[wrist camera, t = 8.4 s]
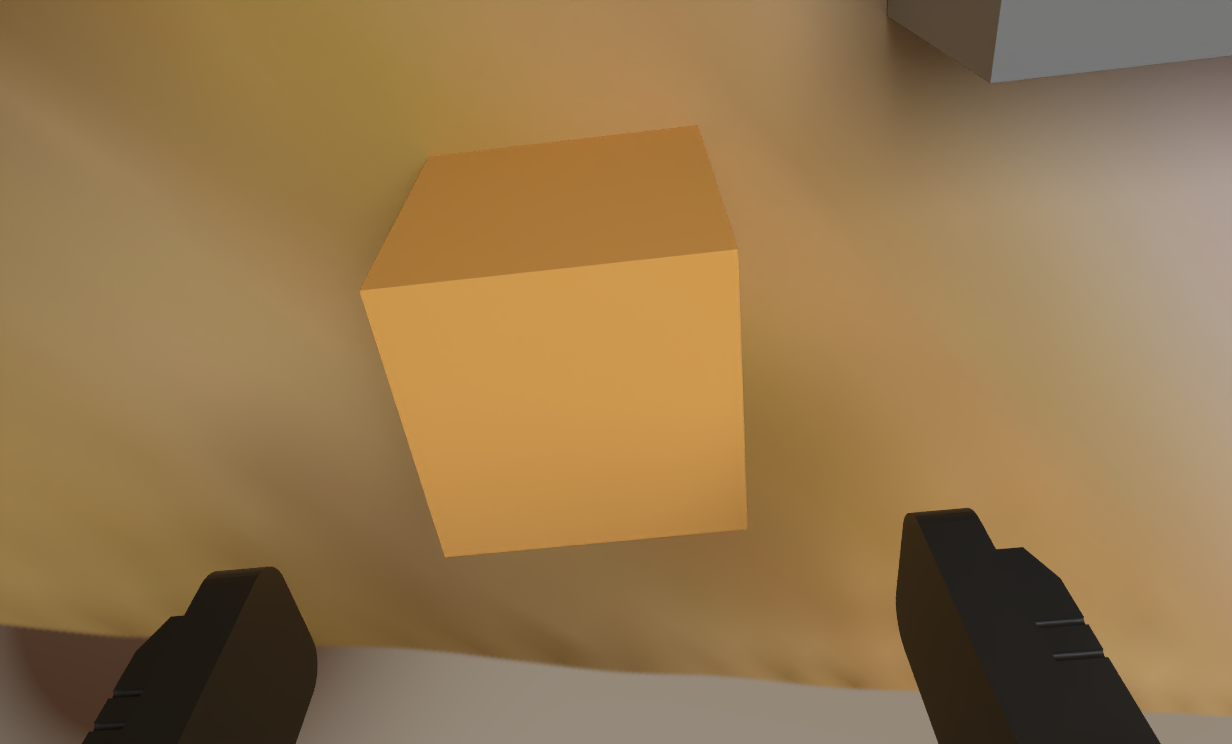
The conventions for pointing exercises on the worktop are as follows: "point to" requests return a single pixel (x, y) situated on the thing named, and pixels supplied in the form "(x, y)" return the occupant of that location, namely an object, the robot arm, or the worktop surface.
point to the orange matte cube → (567, 343)
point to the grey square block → (1067, 33)
